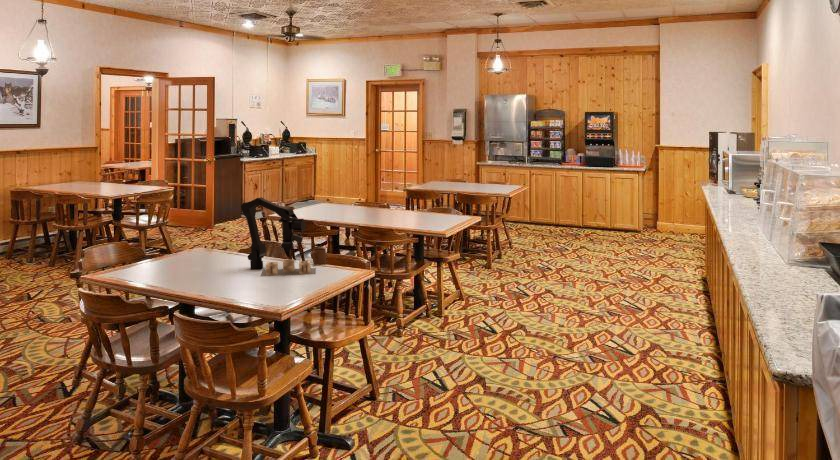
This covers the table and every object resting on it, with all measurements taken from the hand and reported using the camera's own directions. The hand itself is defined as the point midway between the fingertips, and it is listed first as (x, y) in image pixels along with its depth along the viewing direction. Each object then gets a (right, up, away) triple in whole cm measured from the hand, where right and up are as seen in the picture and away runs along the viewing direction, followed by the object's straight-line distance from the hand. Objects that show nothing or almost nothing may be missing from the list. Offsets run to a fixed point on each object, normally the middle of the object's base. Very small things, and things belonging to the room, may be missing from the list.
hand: (288, 257), depth 346 cm
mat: (+1, -9, -2) cm, 9 cm away
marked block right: (+10, -9, -3) cm, 13 cm away
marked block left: (-8, -9, -6) cm, 13 cm away
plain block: (0, -8, +1) cm, 8 cm away
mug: (+13, -6, +19) cm, 24 cm away
